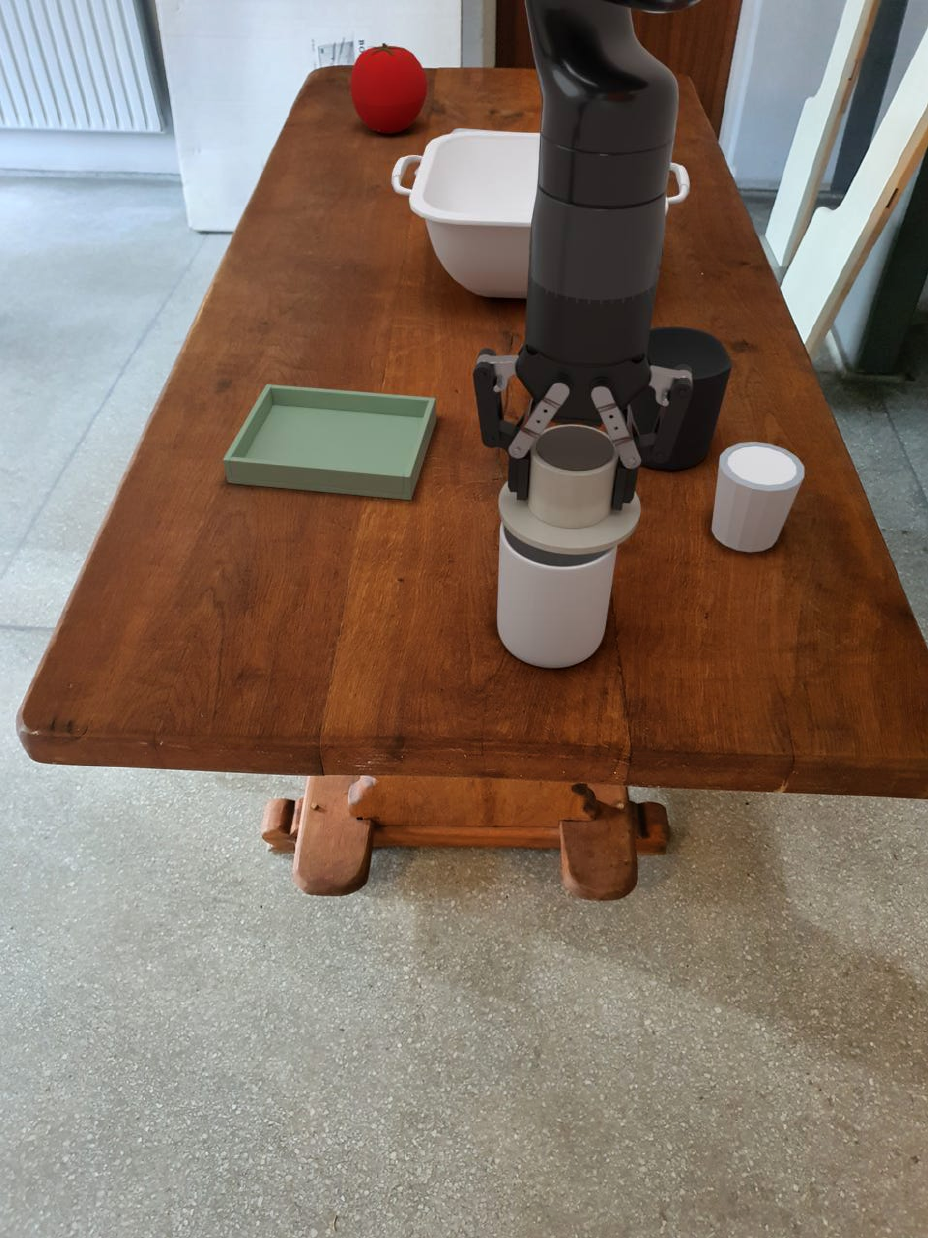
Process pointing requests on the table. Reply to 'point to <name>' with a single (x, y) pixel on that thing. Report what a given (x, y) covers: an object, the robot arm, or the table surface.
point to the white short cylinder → (754, 495)
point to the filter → (570, 494)
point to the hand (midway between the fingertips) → (570, 497)
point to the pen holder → (706, 400)
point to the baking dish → (484, 205)
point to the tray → (333, 441)
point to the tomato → (388, 88)
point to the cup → (552, 602)
